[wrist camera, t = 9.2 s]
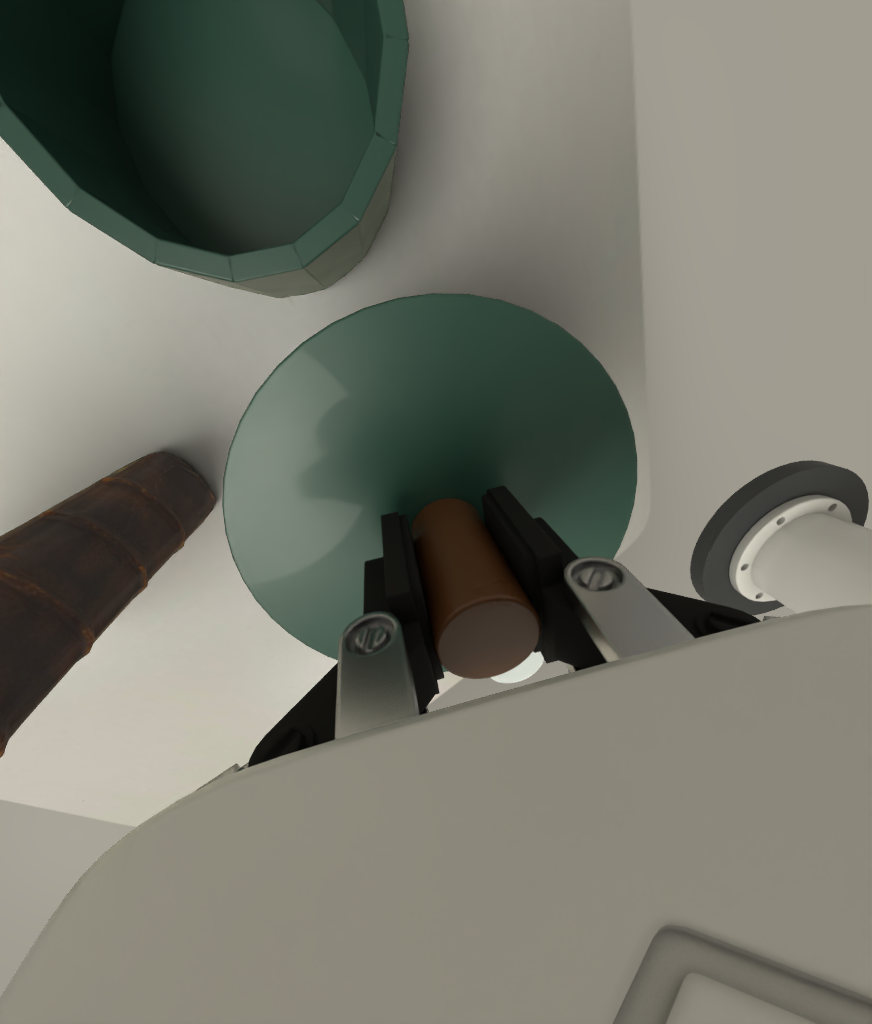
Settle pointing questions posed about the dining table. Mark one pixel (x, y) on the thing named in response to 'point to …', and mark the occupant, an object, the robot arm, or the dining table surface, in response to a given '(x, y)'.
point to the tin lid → (425, 468)
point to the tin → (213, 127)
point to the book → (86, 571)
